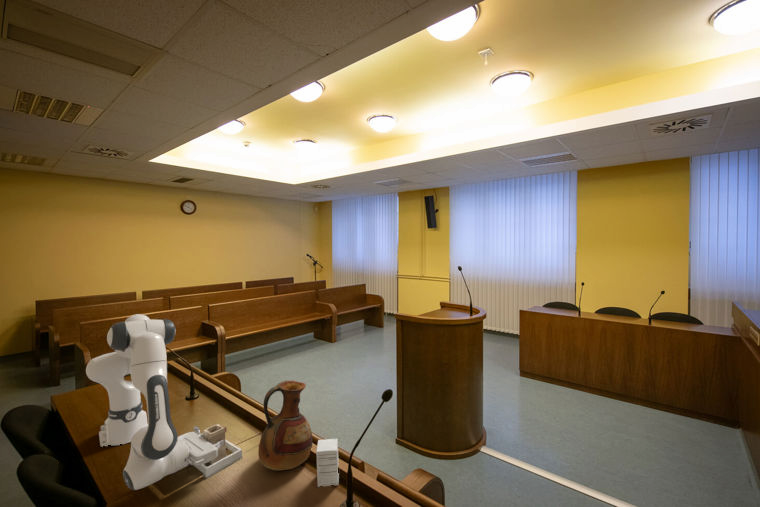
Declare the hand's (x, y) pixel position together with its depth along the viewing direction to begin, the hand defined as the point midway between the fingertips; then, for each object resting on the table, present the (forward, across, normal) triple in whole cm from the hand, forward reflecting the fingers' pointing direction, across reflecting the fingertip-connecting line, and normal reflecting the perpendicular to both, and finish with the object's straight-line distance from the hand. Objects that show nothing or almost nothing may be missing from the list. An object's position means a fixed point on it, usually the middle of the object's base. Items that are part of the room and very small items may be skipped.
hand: (217, 437), depth 133 cm
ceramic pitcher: (+15, -23, +9) cm, 29 cm away
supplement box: (+17, -44, +9) cm, 48 cm away
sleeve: (-1, 0, +8) cm, 8 cm away
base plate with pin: (-1, +15, +9) cm, 18 cm away
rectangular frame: (-1, 0, +9) cm, 9 cm away
